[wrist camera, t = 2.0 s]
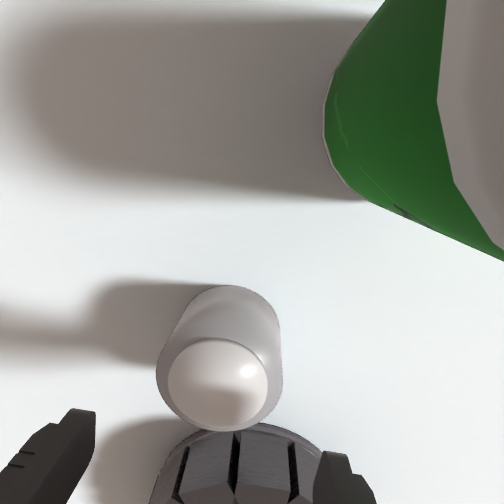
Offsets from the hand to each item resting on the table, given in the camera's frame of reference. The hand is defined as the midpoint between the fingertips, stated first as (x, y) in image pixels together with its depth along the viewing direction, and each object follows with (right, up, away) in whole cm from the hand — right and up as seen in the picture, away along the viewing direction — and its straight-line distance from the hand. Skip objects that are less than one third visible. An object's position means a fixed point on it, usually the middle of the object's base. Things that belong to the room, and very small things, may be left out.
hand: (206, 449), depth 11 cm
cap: (0, +2, +6) cm, 7 cm away
